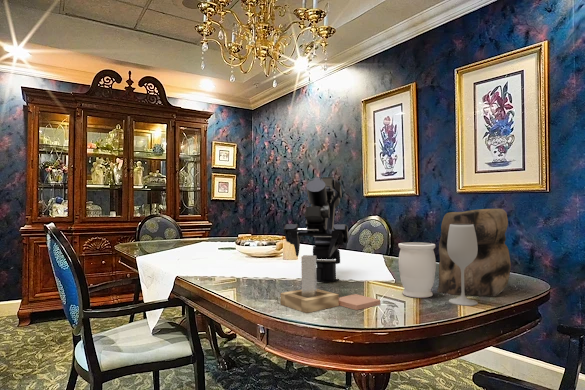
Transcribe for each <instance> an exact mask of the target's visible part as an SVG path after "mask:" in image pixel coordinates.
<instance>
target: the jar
mask: <svg viewBox="0 0 585 390" xmlns="http://www.w3.org/2000/svg"><path fill="white" fill-rule="evenodd" d="M398 248H399V249H400V250H399V254H398V272H399V275H400V276H399V277H400V281H401V285H402V287H403V291H402V294H403V296H406V297H409V298H410V297H411V298H416V299H417V298H419V299H423V298H424V299H425V298H429V297H430V298H431V297H432V296H433V295H434V294H433V292H432V288H433V286H434V284H435V278H436V269H437V259H436V255H435V251H434V249H435V248H436V244H435V243H431V242H421V241H420V242H419V241H417V242H416V241H413V242H411V241H410V242H409V241H408V242H400V243H398Z"/></svg>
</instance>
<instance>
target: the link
mask: <svg viewBox="0 0 585 390" xmlns="http://www.w3.org/2000/svg"><path fill="white" fill-rule="evenodd" d="M300 259H301V260H300V261H301V289H302V297H305V298H311V297H316V296H317V289H318V287H317V286H318V285H317V283H318V281H317V276H316V268H317V263H316V255H313V254H309V255H308V254H304V255H302V256H301V258H300Z"/></svg>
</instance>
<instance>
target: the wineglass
mask: <svg viewBox="0 0 585 390" xmlns="http://www.w3.org/2000/svg"><path fill="white" fill-rule="evenodd" d="M447 252H448V255H449V257H450V258H451V260H452V261H453V262H454V263H455V264H456V265H458V266H459V267H460V269H461V290H462V292H461V295H459V297H458V298H457V297H455V298H450V299H449V300H448V302H449V304H453V305H457V306H462V307H463V306H467V307H470V306H471V307H472V306H477V305H478V304H479V302H478V301H476V300H475V299H470V298H468V297H467V295H465V293H464V270H465V268H466V267H467V266H468V265H469V264H470V263H472V262H473V261H474V259H475V258H476V256H477V252H478V246H477V238H476V233H475V228H474V225H473V224H450V227H449V232H448V240H447Z"/></svg>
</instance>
